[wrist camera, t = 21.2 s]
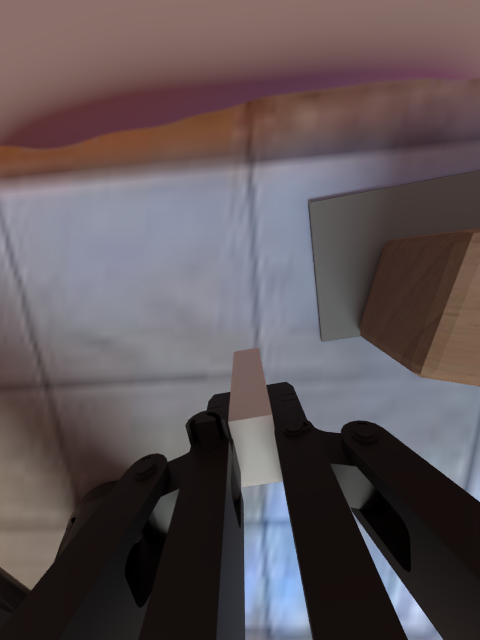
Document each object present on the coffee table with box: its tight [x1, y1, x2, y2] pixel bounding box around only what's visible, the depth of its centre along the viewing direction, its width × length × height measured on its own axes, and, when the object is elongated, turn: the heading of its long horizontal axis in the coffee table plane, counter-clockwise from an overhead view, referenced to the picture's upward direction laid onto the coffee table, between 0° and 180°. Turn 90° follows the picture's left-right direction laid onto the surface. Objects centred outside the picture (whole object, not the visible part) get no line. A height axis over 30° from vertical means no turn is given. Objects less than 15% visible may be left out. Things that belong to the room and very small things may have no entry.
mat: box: [308, 170, 480, 342], centre depth 24 cm, size 24×14×1 cm, turn 100°
